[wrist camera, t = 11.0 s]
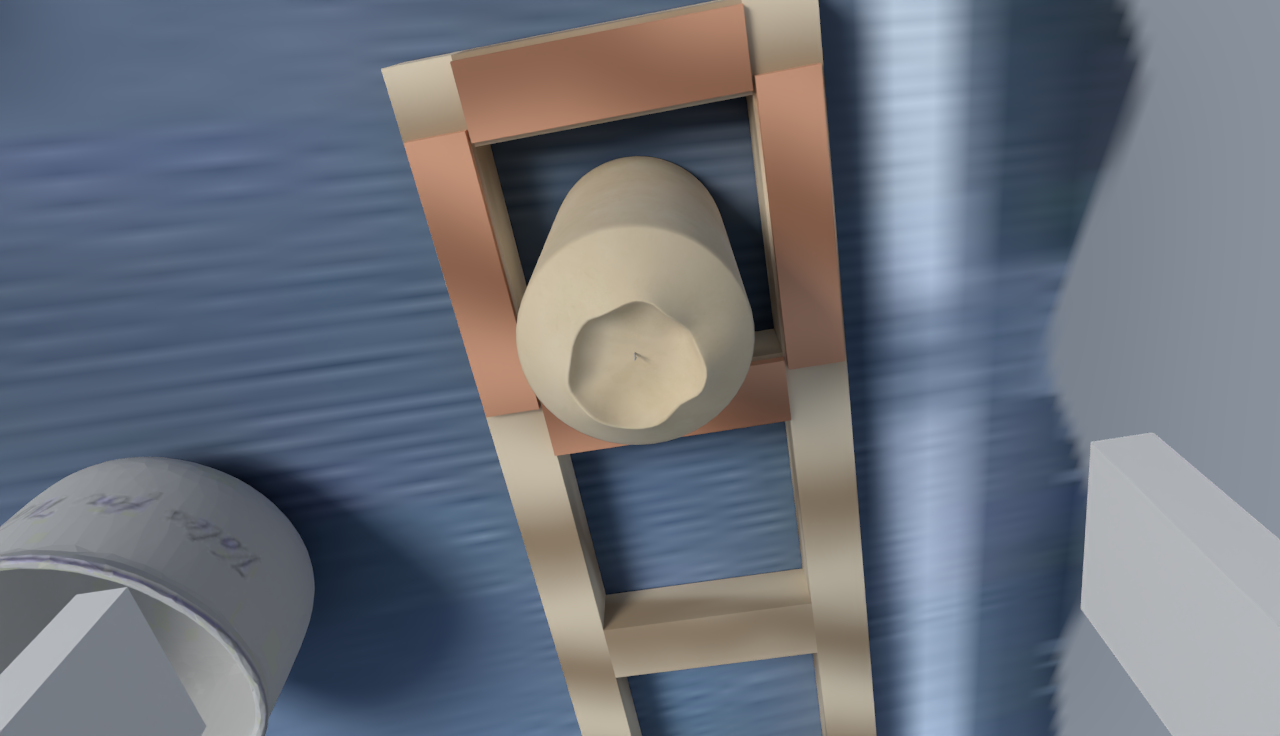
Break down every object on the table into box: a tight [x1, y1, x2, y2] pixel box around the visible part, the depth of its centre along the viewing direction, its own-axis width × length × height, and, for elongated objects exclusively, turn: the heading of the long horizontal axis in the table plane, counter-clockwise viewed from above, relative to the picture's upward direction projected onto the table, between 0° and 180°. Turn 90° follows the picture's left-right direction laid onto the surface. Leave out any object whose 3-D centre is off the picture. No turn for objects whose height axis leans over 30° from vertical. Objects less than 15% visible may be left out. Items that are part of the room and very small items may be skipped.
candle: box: [516, 156, 755, 445], centre depth 22 cm, size 6×6×10 cm
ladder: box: [381, 0, 876, 736], centre depth 29 cm, size 34×12×2 cm, turn 10°
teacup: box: [0, 457, 315, 736], centre depth 28 cm, size 14×11×8 cm
